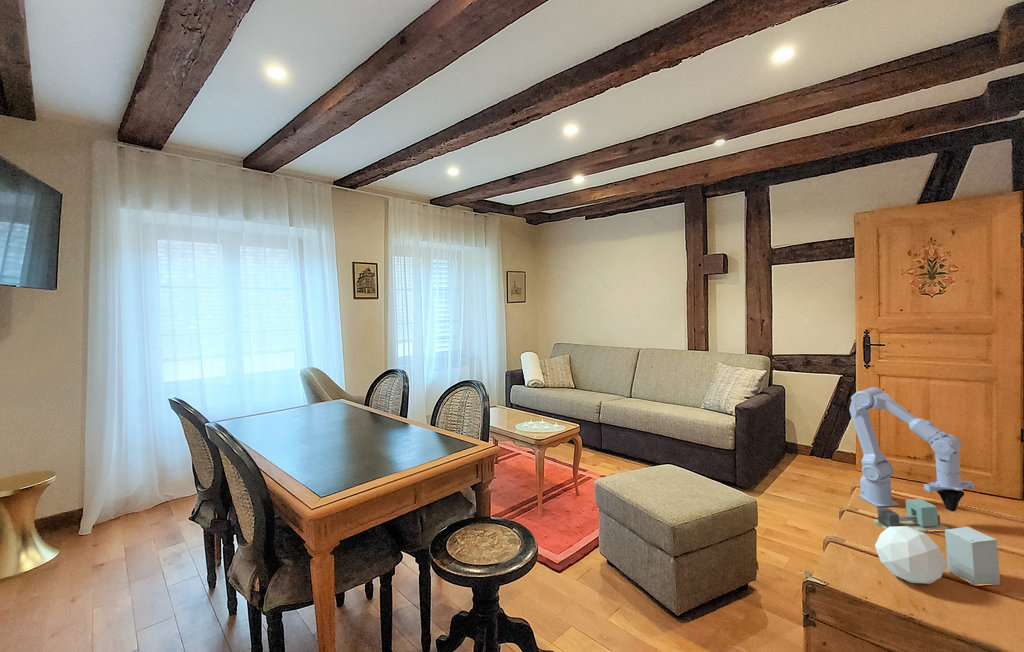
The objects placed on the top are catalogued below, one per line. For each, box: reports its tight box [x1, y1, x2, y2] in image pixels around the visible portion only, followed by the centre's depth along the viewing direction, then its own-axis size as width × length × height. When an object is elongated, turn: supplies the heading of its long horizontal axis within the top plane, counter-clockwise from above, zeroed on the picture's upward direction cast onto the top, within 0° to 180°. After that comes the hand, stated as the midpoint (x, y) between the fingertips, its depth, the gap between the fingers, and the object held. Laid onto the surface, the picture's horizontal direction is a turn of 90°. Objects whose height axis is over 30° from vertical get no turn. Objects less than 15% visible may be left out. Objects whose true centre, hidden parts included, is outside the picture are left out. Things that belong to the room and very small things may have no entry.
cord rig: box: [873, 507, 950, 533], centre depth 144 cm, size 8×18×6 cm, turn 86°
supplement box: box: [944, 526, 1001, 587], centre depth 117 cm, size 7×7×13 cm
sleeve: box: [905, 498, 939, 527], centre depth 144 cm, size 6×5×6 cm
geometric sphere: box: [874, 526, 948, 585], centre depth 120 cm, size 14×15×15 cm
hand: (950, 510), depth 143 cm, fingers closed
